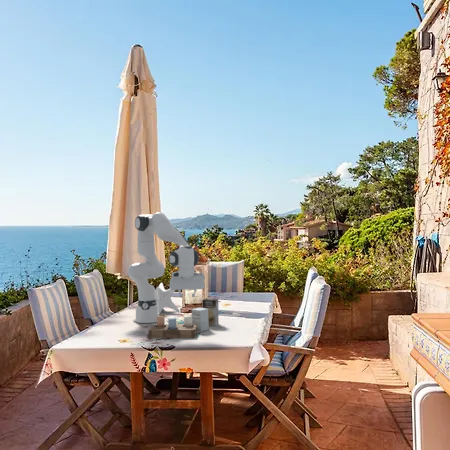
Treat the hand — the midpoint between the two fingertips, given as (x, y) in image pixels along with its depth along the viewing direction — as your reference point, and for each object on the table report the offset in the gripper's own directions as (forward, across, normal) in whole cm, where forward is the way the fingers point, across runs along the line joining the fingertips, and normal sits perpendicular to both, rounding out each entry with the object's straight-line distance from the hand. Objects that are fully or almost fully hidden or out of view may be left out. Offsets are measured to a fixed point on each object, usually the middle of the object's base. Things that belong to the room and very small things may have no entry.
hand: (187, 297), depth 288 cm
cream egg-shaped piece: (+17, 0, 0) cm, 17 cm away
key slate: (+17, +8, +7) cm, 20 cm away
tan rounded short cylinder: (+17, +16, 0) cm, 23 cm away
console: (+21, +8, +4) cm, 23 cm away
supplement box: (+21, -6, -10) cm, 24 cm away
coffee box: (+21, -11, -25) cm, 35 cm away
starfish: (+22, +30, -75) cm, 84 cm away
